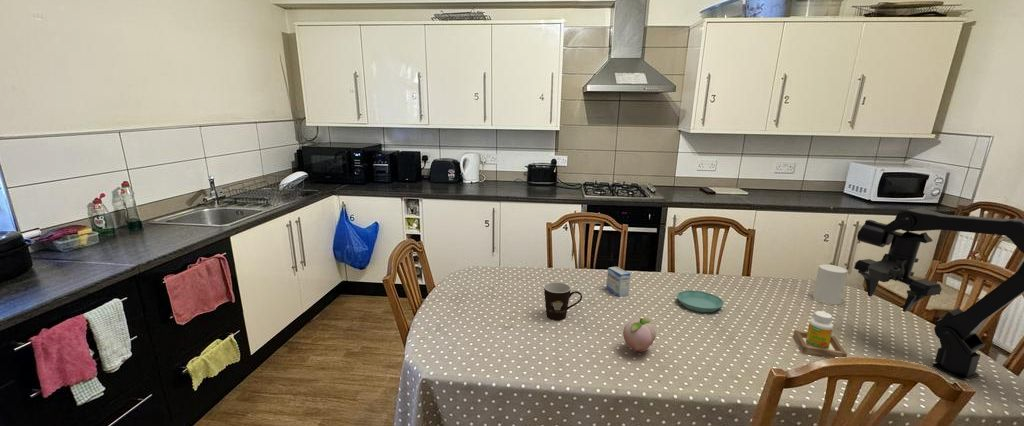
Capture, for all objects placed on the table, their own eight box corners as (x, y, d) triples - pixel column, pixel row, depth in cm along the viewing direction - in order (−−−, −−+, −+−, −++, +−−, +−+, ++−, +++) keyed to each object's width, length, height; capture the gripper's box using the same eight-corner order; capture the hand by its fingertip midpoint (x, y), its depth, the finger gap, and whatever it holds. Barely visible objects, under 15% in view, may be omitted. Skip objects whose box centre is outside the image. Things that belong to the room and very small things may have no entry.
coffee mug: (538, 318, 135) (539, 289, 133) (549, 307, 143) (550, 280, 141) (573, 327, 130) (574, 297, 128) (582, 315, 138) (583, 287, 135)
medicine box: (605, 289, 159) (607, 267, 157) (615, 287, 161) (617, 265, 159) (619, 297, 152) (621, 274, 150) (629, 295, 154) (631, 272, 152)
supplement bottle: (804, 346, 120) (810, 314, 118) (806, 338, 124) (812, 308, 122) (828, 352, 117) (834, 320, 114) (829, 344, 121) (835, 313, 118)
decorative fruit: (630, 339, 124) (632, 307, 121) (657, 349, 119) (661, 316, 116) (615, 352, 117) (618, 319, 114) (644, 363, 112) (647, 329, 109)
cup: (845, 305, 147) (852, 273, 144) (819, 303, 149) (825, 271, 146) (833, 296, 155) (839, 265, 152) (808, 294, 157) (814, 263, 154)
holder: (833, 342, 123) (834, 336, 123) (845, 360, 114) (847, 354, 114) (793, 336, 127) (794, 329, 126) (802, 353, 117) (803, 346, 117)
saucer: (732, 310, 143) (733, 303, 142) (701, 319, 137) (701, 311, 136) (697, 294, 156) (698, 287, 155) (667, 301, 150) (667, 294, 149)
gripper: (847, 243, 124) (833, 291, 128) (920, 268, 107) (902, 323, 111) (875, 241, 127) (861, 288, 131) (951, 265, 110) (932, 319, 114)
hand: (886, 303), depth 122 cm, fingers open, 9 cm apart
